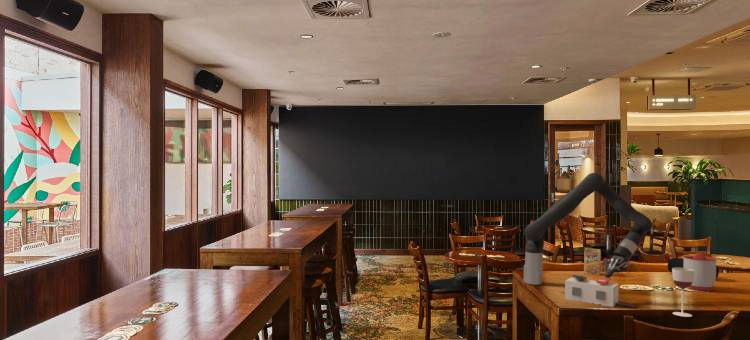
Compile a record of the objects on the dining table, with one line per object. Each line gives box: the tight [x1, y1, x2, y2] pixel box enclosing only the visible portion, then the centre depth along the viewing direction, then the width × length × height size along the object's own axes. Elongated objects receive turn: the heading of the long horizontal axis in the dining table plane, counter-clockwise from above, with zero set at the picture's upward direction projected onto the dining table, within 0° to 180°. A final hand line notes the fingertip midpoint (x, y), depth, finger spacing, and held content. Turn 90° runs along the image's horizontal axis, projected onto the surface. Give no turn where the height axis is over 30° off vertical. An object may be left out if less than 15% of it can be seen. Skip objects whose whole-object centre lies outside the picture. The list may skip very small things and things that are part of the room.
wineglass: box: [671, 267, 694, 318], centre depth 231 cm, size 8×9×20 cm
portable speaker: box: [667, 257, 720, 280], centre depth 316 cm, size 26×10×10 cm, turn 35°
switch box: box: [564, 276, 635, 309], centre depth 250 cm, size 30×10×9 cm, turn 53°
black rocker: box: [572, 274, 588, 281], centre depth 255 cm, size 4×9×2 cm, turn 143°
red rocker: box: [596, 276, 611, 284], centre depth 249 cm, size 4×9×2 cm, turn 143°
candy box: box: [583, 247, 602, 276], centre depth 319 cm, size 9×4×15 cm, turn 59°
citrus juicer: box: [682, 251, 718, 292], centre depth 283 cm, size 16×17×20 cm
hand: (606, 277), depth 252 cm, fingers closed
